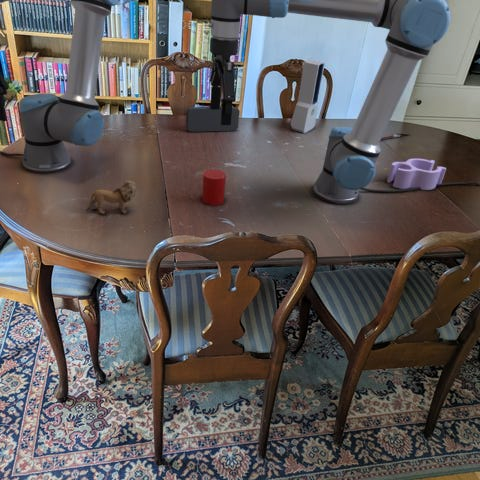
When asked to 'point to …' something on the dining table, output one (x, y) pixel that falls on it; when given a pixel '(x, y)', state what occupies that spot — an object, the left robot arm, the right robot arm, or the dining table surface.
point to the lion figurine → (114, 196)
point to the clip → (415, 174)
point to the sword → (393, 136)
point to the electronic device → (308, 96)
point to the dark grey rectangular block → (209, 119)
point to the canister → (213, 187)
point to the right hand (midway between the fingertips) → (220, 116)
